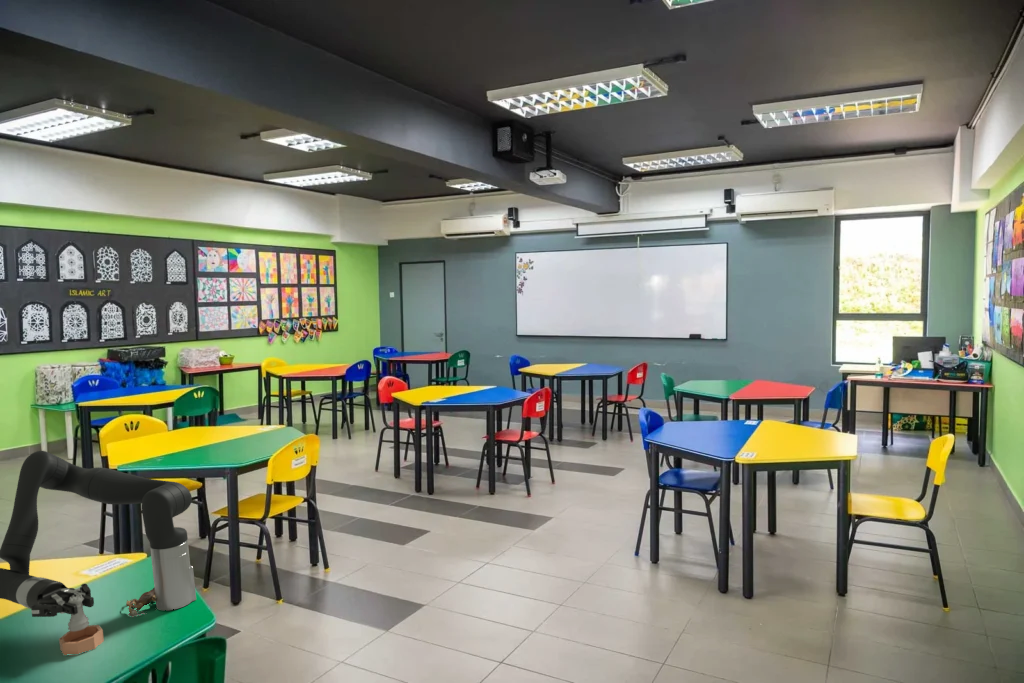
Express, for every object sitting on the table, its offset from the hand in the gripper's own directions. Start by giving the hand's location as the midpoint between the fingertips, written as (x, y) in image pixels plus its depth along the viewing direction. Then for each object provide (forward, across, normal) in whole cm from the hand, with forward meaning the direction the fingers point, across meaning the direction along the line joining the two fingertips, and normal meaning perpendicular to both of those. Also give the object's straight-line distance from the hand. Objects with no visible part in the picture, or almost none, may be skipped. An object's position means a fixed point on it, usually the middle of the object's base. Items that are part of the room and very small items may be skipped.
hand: (84, 606), depth 163 cm
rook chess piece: (-3, 0, +6) cm, 7 cm away
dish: (-2, 0, +11) cm, 11 cm away
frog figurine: (-7, +20, +11) cm, 24 cm away
